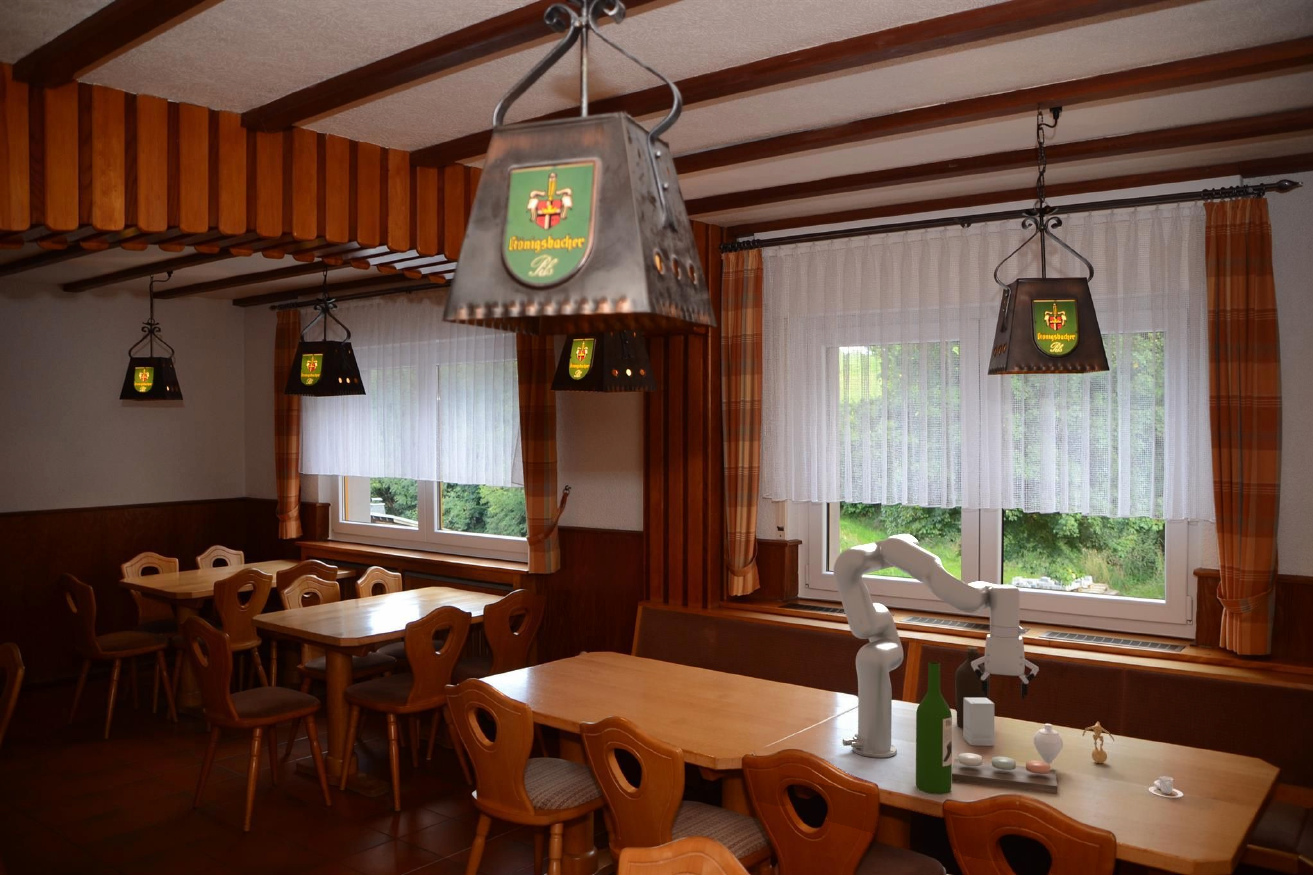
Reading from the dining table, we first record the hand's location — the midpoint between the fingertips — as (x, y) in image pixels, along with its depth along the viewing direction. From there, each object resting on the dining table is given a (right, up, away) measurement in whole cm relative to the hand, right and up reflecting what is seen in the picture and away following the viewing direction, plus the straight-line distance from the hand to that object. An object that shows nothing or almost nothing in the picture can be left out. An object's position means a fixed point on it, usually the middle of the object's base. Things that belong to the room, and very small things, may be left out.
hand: (1004, 695), depth 258 cm
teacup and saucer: (+42, -23, -8) cm, 48 cm away
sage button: (0, -19, 0) cm, 19 cm away
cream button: (-8, -19, +3) cm, 21 cm away
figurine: (+31, -23, +13) cm, 41 cm away
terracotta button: (+8, -19, -3) cm, 21 cm away
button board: (0, -22, 0) cm, 22 cm away
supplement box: (+4, -23, +32) cm, 40 cm away
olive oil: (+7, -23, +49) cm, 54 cm away
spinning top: (+16, -23, +10) cm, 29 cm away
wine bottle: (-21, -22, -7) cm, 32 cm away
